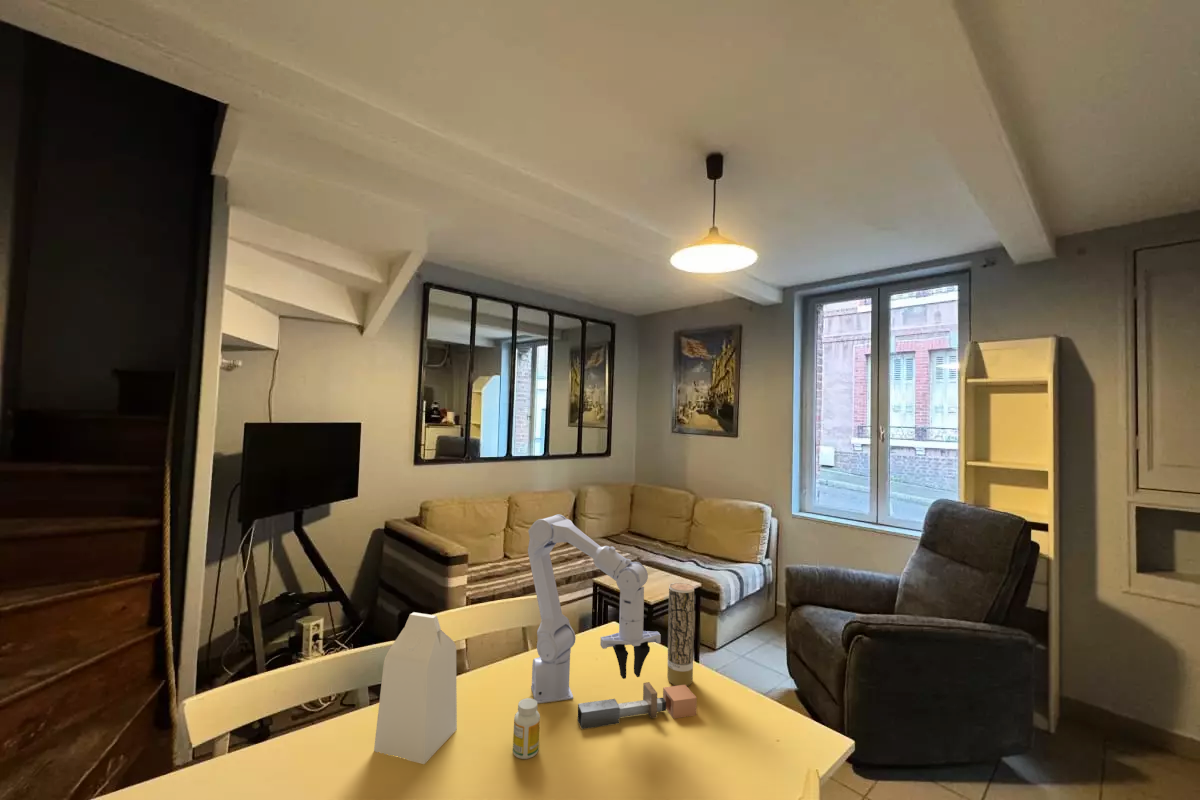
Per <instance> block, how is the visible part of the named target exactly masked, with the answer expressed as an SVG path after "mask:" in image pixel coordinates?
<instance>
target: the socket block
mask: <svg viewBox="0 0 1200 800" xmlns="http://www.w3.org/2000/svg"><path fill="white" fill-rule="evenodd" d="M662 698H664V700H665V701H666V711H667V712H668V713H669V715H670V716H671V718H672V719H674V720H675V719H678V718H685V717H686V716H687V717H692V716H697V708H698V707H697V706H698V705H697V702H698V701H697V696H696V695H695V694H694V693H693V691H691V689H690V688H689V687H688V686H686V685H678V686H676V685H673V686H665V687H663V689H662Z"/></svg>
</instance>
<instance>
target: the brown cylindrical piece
mask: <svg viewBox="0 0 1200 800" xmlns="http://www.w3.org/2000/svg"><path fill="white" fill-rule="evenodd" d="M694 618H695V586H694V585H692V584H689V583H686V582H673V583H670V584H669V587H668V618H667V619H668V624H667V625H668V627H667V628H668V629H667V677H666V678H667V680H668V681H669V683H671V684H672V685H673V686H678V685H686V686H687V687H688V686H690V685H691V684H692V683H693V678H694V674H693V673H694V631H695V630H694V629H695V627H694V625H695V623H694V622H695V619H694Z"/></svg>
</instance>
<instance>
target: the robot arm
mask: <svg viewBox="0 0 1200 800" xmlns="http://www.w3.org/2000/svg"><path fill="white" fill-rule="evenodd" d="M527 531H528V536H529V542H528V547H527V554H528V559H529V564H530V569H531V574H532V579H533V584H534V589H535V594H536V599H537V605H538V609H539V614H540V619H541V622H540V624H539V627H538V628H537V630H536V631H537V632H536V635H537V641H536V650H537V651H536V652H537V654H538V656H539V657H535V658H533V660H532V667H531V668H532V669H531V670H532V671H531V685H530V687H531V688H530V689H531V692H532V696H533V699H535V700H536V701H537V705H539V704H545V703H551V702H558V701H566V700H567V701H568V700H572V699H574V695H573V692H572V690H571V687H570V671H571V670H570V669H571V667H570V666H571V663H570V662H571V652H572V651H571V649H572V647H573V646H574V645H575V643H576V638H577V637H576V633H575V630H574V629H573V628H572V626H571V624H570V620H569V618H568V617H567V616H566V615H564V614H563V612H562V607H561V601H560V597H559V591H558V589H557V582H556V578H555V573H554V568H553V564H552V563H553V562H552V559H551V552H552V550H553V549H554V547H555V546H556V544H559V543H568V544H569V545H571V546H573V547H574V548H576V549H578V550H579V551H581V552H583V553H584V554H585V555H588V557H590V558H592V560H593V564H594V566H595V567H596V568H597V569H599V570H600V571H601V572H603V573H604V574H606V575H607V576H609V577H610V578H611V579H613V580H614V581H615V583H616V585H617V588H618V589H619V617H618V619H619V623H618V625H619V626H618V627H619V628H618V632H616V633H612V634H609V635H605V636H604V635H603V636H600V645H599V646H600V647H601V648H602V650H603V649H604V650H605V649H607V648H609V647H610V648H611V647H612V648H613V651H614V655H615V656H616V659H617V663H618V666H619V673H620V674H619V675H620V677H621V679H623V680H625V679H627V661H628V655H629V652H628V650H627V647H626V646H629V645H630V646H632V647H633V656H634V657H633V673H634V675H635V676H636V677H637V678H639V677H641V673H642V669H643V665H644V663H645V660H646V659H647V656H648V655H649V653H650V650H651V647H650V645H649V643H656V644H661V643H662V642H661V637H662V636H661V634H660V632H659V631H657V630H656V631H648V630H647V631H646V630H644V618H645V617H644V609H645V605H644V604H645V586H644V585H645V584H647V583H646V582H647V581H648V579H649V575H648V571H647V568H646V567H645V566H644V565H643V564H642V563H641V562H639V561H632V559H630V558H626V557H625V556H623V555H622V554H620V553H619V552H618V551H616V550H617V549H616V547H614V545H611V546H609V545H603V546H600V545H599V544H598V543H597V542H596V541H594V540H593V539H592V538H591V537H589V536H588V535H587V534H585V533H584V532H583V531H582V530H581V529H579V527H578V526H576V525H575V524H574V523H573V521H572V520H571V519H569V518H567V517H566V516H564V515H562V514H555V515H551V516H548V517H544V518H539V519H537V520H535V521H534V522H533V523H532V525H531V526H530V527H529V528H528V530H527Z"/></svg>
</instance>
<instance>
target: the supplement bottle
mask: <svg viewBox="0 0 1200 800" xmlns="http://www.w3.org/2000/svg"><path fill="white" fill-rule="evenodd" d="M540 722H541V715H540V713H539V711H538V704H537V701H536V700H535V699H534V698H531V697H529V698H528V697H527V698H523V699H521V700H519V702H518V704H517V712H516V713H515V715H514V717H513V737H512V754H513V755H514V756H515V757H516V758H518V759H521V760H527V759H531V758H533V757H535V756H536V755H537V754H538V752H539V747H540V725H541V723H540Z"/></svg>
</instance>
